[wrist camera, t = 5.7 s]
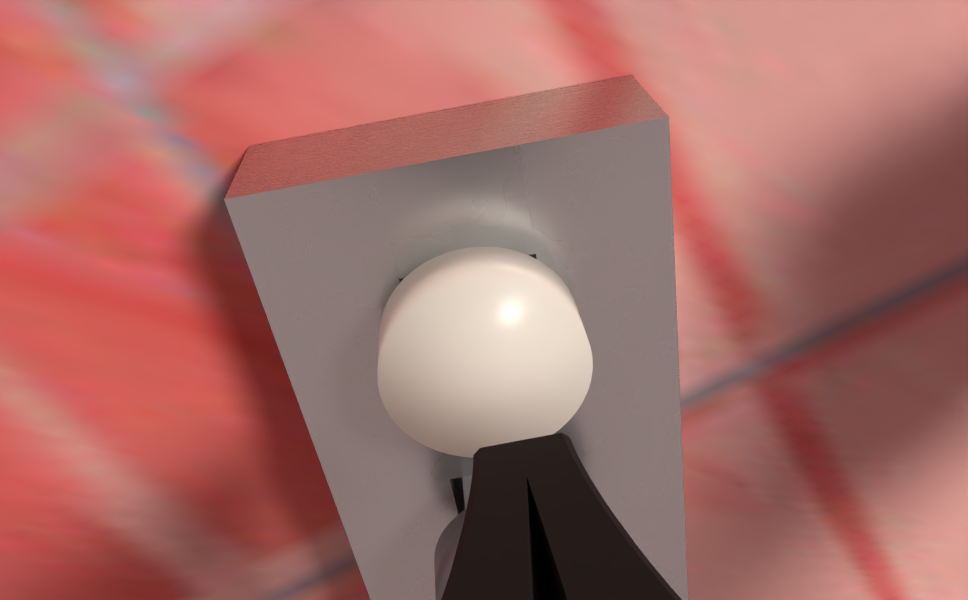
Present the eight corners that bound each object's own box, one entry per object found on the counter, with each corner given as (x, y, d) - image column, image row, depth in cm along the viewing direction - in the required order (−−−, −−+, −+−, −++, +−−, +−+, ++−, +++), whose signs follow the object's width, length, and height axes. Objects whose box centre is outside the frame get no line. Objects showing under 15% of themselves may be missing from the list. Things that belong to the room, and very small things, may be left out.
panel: (632, 74, 18) (668, 116, 16) (666, 619, 29) (692, 698, 26) (248, 146, 18) (223, 199, 16) (421, 663, 29) (423, 745, 26)
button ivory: (551, 186, 18) (581, 264, 15) (571, 341, 21) (601, 437, 17) (362, 221, 18) (353, 305, 15) (403, 372, 21) (403, 473, 17)
